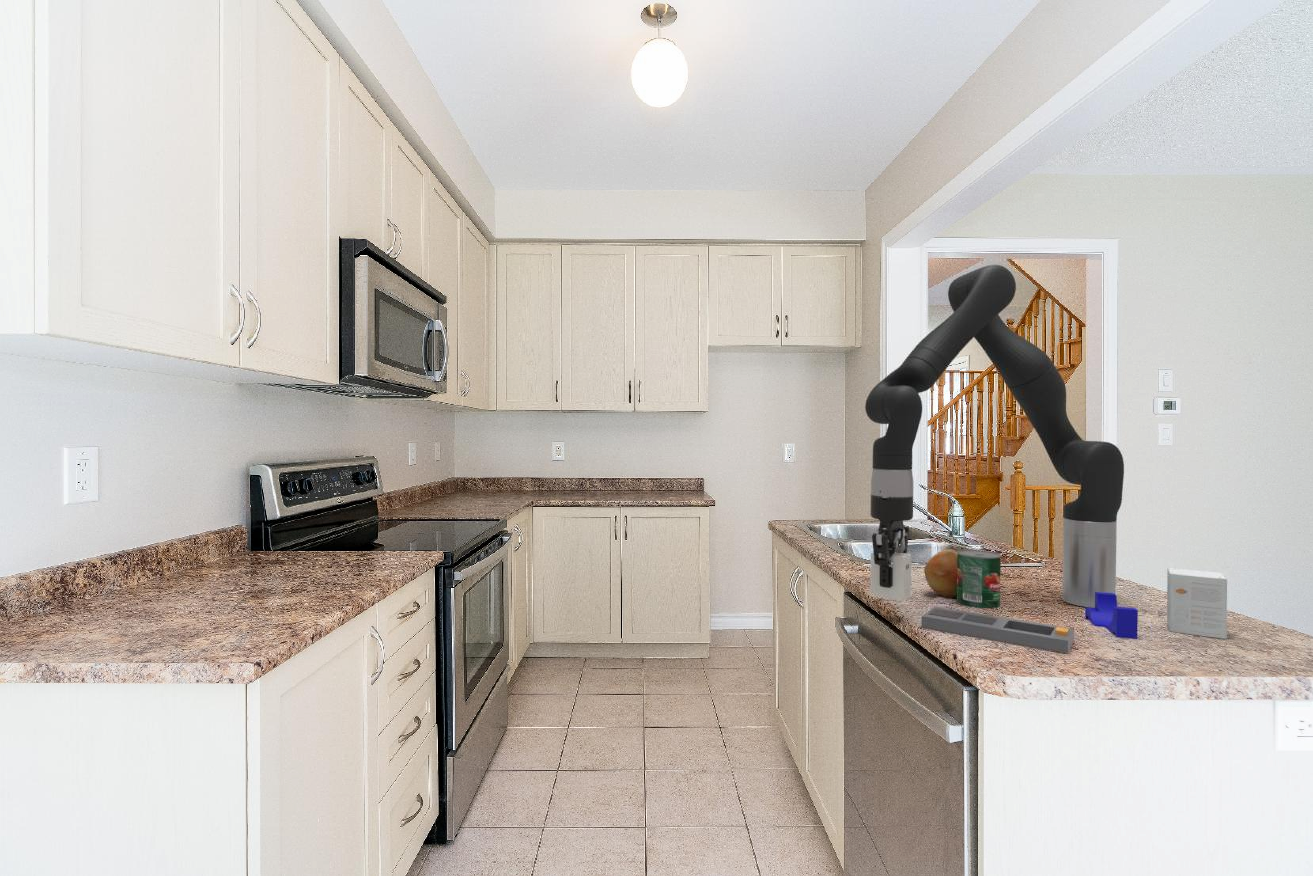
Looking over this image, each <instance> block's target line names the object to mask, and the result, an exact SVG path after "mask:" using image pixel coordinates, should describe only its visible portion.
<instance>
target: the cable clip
mask: <svg viewBox="0 0 1313 876" xmlns="http://www.w3.org/2000/svg"><path fill="white" fill-rule="evenodd" d="M1117 596H1118V595H1117V594H1114V593H1103V592H1095V608H1091V607H1085V609H1084V612H1085V613H1084V615H1085V616H1084V620H1088V621H1089V622H1090V623H1091V624H1092V625H1093V626H1094V627H1099V628H1100V627H1102V628H1106V629H1107V630H1108V631H1109V632H1110V633H1111V634H1112V635H1114V636H1115V638H1120V639H1121V638H1123V639H1132V640H1135V639H1136V640H1138V631H1139V630H1138V627H1139V624H1138V622H1139V621H1138V620H1139V617H1138V616H1139V610H1138V609H1137V608H1136V607H1127V606H1126V607H1125V606H1118V602H1117V600H1118V598H1117Z"/></svg>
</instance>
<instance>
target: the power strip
mask: <svg viewBox="0 0 1313 876" xmlns="http://www.w3.org/2000/svg"><path fill="white" fill-rule="evenodd" d="M921 628H922V629H926V630H932V631H938V632H943V633H949V634H955V635H959V636H965V637H971V638H976V639H977V638H978V639H983V640H986V641H987V640H988V641H992V642H993V641H994V642H999V643H1004V644H1011V645H1016V646H1021V647H1028V648H1033V649H1037V650H1043V651H1049V652H1053V653H1054V652H1055V653H1061V654H1065V655H1066V654H1067V655H1068V654H1069V653H1070V651H1071V649H1072V647H1073V645H1074V642H1075V628H1072V627H1067V626H1065V627H1064V626H1059V625H1053V624H1047V623H1040V622H1034V621H1028V620H1022V619H1016V618H1008V617H1004V616H999V615H997V616H996V615H992V614H991V615H990V614H983V613H979V612H977V613H976V612H974V611H973V612H972V611H965V610H958V609H952V608H948V607H947V608H946V607H941V606H933V607H932V608H930V609H929V610H928V611H927V612H925V613H924V614H922V615H921Z"/></svg>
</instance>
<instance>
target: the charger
mask: <svg viewBox="0 0 1313 876" xmlns="http://www.w3.org/2000/svg"><path fill="white" fill-rule="evenodd" d="M883 558H885V556H884V555H883ZM892 568H893V586H892V587H890V588H886V587H881V586H880V566H878V564H875V562H874V552H870V594H869V595H870V597H873V598H880V599H885V600H893V601H899V602H904V601H906V600H908V599H909V598H911V595H912V591H911V590H912V587H911V585H912V554H911V553H908V552H907V553H898V552H897V555H895V556H894V559H893V567H892Z"/></svg>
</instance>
